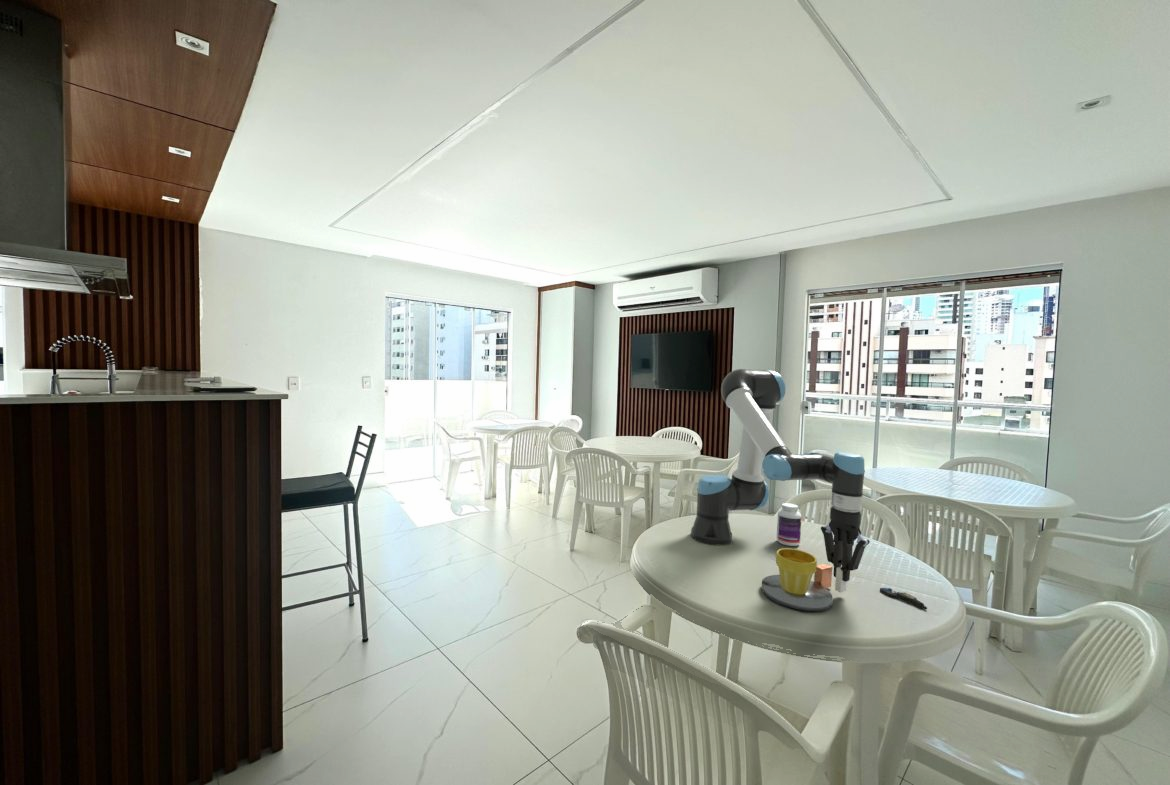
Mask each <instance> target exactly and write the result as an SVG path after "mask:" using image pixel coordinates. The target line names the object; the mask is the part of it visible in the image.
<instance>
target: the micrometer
mask: <svg viewBox="0 0 1170 785" xmlns="http://www.w3.org/2000/svg"><path fill="white" fill-rule="evenodd" d="M879 591H880V593H882V594H884V595H886V596H888V597H889V598H895V599H898V600H900V601H903V602H906V603H907V604H910V605H913V606H915V607H917V608H919V609H923V610H927V609H928V606H926V605H925V604H924V603H923V602H922V601H920V600H918V598H917V597H915V596H914V595H911V594H910V593H907V592H901V591H896V590H893V589H892V588H891V587H880V588H879Z"/></svg>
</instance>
